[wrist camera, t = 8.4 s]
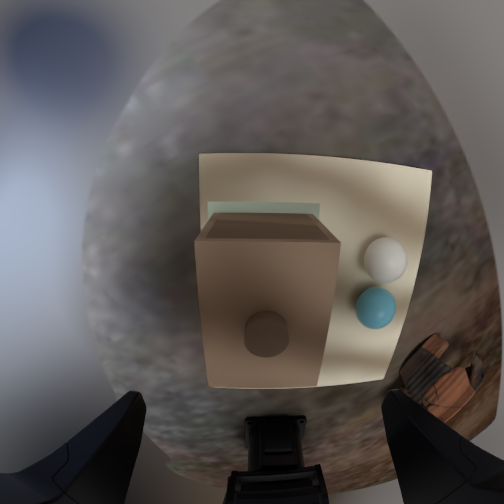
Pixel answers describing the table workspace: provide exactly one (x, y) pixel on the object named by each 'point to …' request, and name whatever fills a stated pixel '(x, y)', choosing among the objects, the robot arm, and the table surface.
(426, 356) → the pottery mug
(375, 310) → the marble teal
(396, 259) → the marble ivory
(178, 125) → the table surface
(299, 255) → the walnut cover
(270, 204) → the serving board
